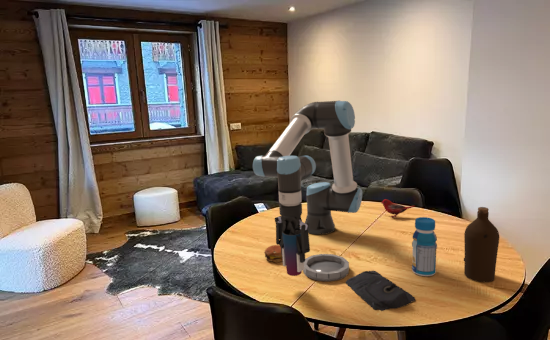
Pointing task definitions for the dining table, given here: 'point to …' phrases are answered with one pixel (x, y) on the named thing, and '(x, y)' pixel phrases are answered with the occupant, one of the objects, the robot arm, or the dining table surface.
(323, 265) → the tray
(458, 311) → the dining table surface
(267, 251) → the burger
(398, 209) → the decorative bird figurine
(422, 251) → the beverage bottle
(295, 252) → the cup
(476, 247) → the olive oil
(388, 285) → the dark slate chunk
